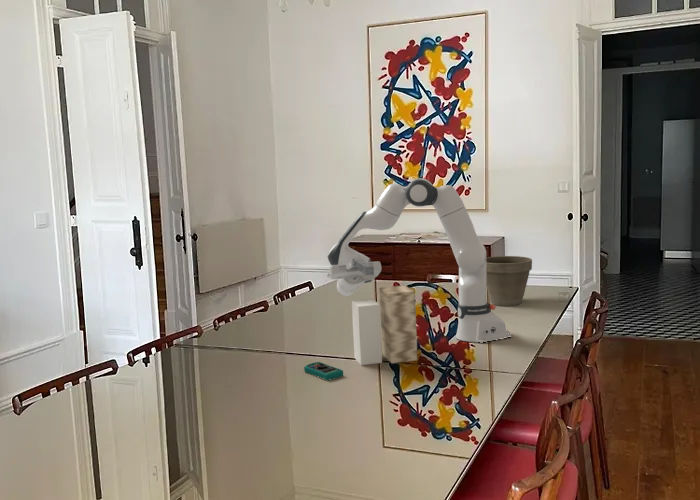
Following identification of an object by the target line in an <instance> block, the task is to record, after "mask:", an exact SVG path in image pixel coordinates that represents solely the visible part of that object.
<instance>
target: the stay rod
mask: <svg viewBox="0 0 700 500" xmlns="http://www.w3.org/2000/svg"><path fill="white" fill-rule="evenodd" d="M352 261H355V267H354V268H356V269H357V270H359V271H360V272H362V273H363V274H365V275H374V266H372V265H371V264H369V263H367V262H365V261H364V260H362V259H360V258H355V259H352Z"/></svg>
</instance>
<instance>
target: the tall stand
mask: <svg viewBox="0 0 700 500" xmlns="http://www.w3.org/2000/svg"><path fill="white" fill-rule="evenodd" d="M378 289H379V304H380V326H381V350H382V357H384V358H385V359H387V361H388V362H389V363H390V364H397V363H405V362H413V361H418V340H417V337H418V335H417V316H416V315H417V314H416V291H415V290H413V289H412V288H410V287H408V286H407V285H394V286H383V287H379V288H378Z"/></svg>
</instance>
